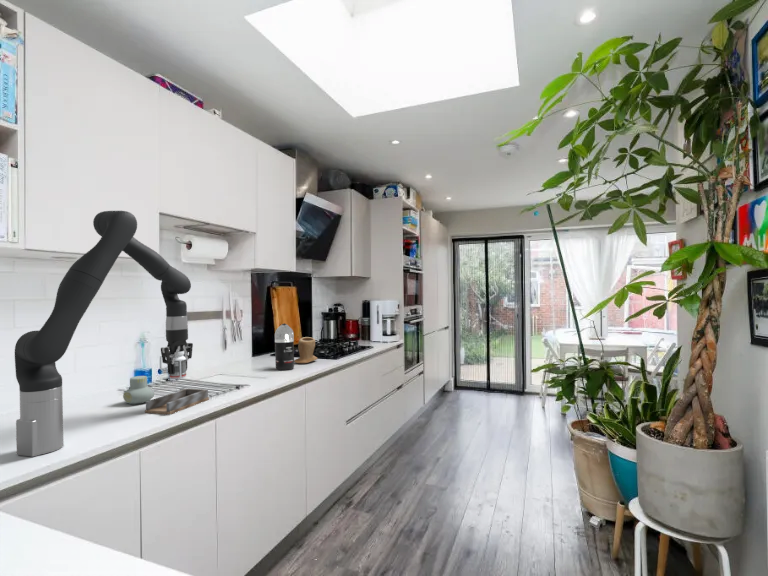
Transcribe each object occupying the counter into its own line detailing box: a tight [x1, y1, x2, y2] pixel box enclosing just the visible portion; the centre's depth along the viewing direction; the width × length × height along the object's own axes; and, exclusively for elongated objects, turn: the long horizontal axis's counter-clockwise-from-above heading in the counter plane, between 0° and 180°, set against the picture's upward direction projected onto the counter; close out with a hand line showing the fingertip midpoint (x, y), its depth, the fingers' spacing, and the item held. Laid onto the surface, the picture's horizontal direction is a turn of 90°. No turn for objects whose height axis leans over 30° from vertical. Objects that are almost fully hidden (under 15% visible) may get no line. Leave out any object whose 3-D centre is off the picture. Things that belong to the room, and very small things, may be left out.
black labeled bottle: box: [274, 323, 295, 371], centre depth 227 cm, size 10×10×25 cm
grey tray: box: [144, 388, 210, 415], centre depth 157 cm, size 20×11×4 cm, turn 164°
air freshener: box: [122, 375, 155, 405], centre depth 164 cm, size 11×8×10 cm
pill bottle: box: [169, 351, 187, 380], centre depth 157 cm, size 6×6×10 cm
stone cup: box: [294, 336, 319, 364], centre depth 246 cm, size 15×12×15 cm
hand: (177, 372), depth 157 cm, fingers closed on pill bottle, 5 cm apart
